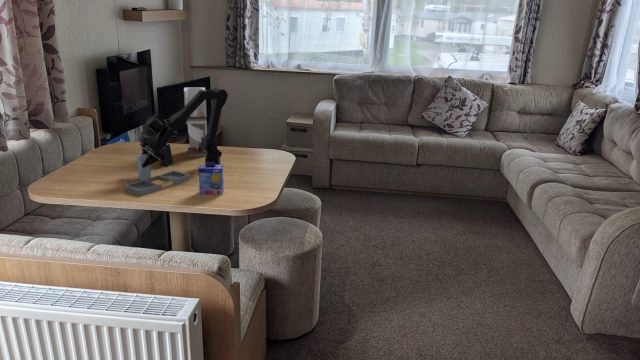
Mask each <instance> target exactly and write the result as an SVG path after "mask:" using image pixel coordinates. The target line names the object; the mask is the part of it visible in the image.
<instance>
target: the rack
mask: <svg viewBox="0 0 640 360" xmlns="http://www.w3.org/2000/svg"><path fill="white" fill-rule="evenodd" d="M190 180H191V174H189V173H185V172H182V171H179V170H171V171H168V172H164V173H160V174H157V175H154V176H151V178H147V179H144V180H138V181H134V182H131V183H129V184H125V185H124V190H125V192H127V193H130V194H133V195H136V196H140V197H143V196H147V195H149V194H152V193H155V192H158V191H162V190H164V189H167V188H170V187H173V186H176V185H178V184H182V183H185V182H188V181H190Z"/></svg>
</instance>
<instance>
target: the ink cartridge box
mask: <svg viewBox="0 0 640 360" xmlns="http://www.w3.org/2000/svg"><path fill="white" fill-rule="evenodd" d="M209 163H211V164H209ZM198 183H199V184H198V187H199V188H198V189H199V196H200V195H201V196H223V194H224V192H225V188H224V187H225V186H224V185H225V183H224V165H223V164H220V165H215V163H214V162H206V165H205V164H200V165H199V167H198Z"/></svg>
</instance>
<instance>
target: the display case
mask: <svg viewBox="0 0 640 360" xmlns="http://www.w3.org/2000/svg"><path fill="white" fill-rule="evenodd" d="M200 90H206V87H184V88H183V95H184V96H183V97H184V107H185V106H186V105H187V104H188V103H189V102H190V100H191V99H192V98H193V97H194V96H195V95H196V94H197V93H198V91H200ZM185 125H187V133H188V141H189V142H188V143H189V146H188V147H187V150H186V151H187V152H186V153H187V157H206V155H207V154H205V152H204V151H203V150H202V149H201V145H200V143H201V138H202V137H205V136H206V134H207V130H208V122H207V99H205V100H204V101H203V103H202V104H201V105H200V106H199V107H198V108H197V109H196V110H195V111H194V112H193V113H192V114H191V115H190V116H189V118H188V120H187V123H186V124H185Z"/></svg>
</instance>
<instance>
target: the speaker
mask: <svg viewBox="0 0 640 360" xmlns="http://www.w3.org/2000/svg"><path fill="white" fill-rule="evenodd" d="M167 145H168V146H167V147H164V148H163V149H162V151H161V152H162V153H163V154H164V155H165V156H166V159H165V160H164V161H161V160H160V159H159V160H160V161H159V162H160V165H162V166H163V165H165V166H166V168H167V167H169V166H172V165H174V160H173V154H172V148H171V144H170V143H169V144H168V143H167Z"/></svg>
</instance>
